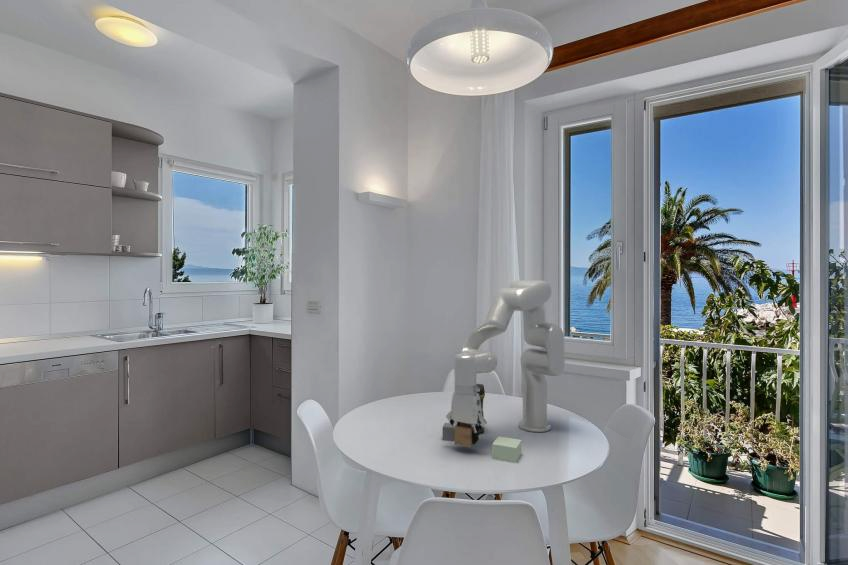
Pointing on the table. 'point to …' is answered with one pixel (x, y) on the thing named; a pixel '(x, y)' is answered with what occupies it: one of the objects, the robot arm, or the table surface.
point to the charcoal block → (448, 432)
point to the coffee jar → (481, 395)
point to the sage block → (506, 449)
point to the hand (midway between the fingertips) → (466, 440)
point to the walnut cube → (463, 434)
